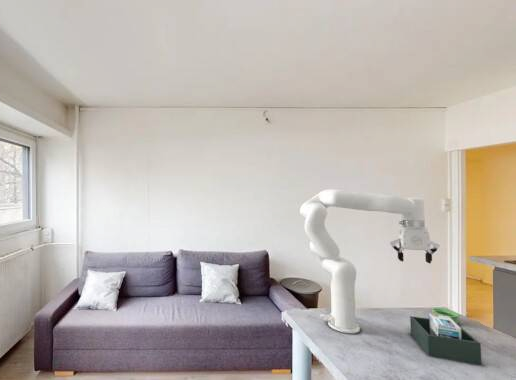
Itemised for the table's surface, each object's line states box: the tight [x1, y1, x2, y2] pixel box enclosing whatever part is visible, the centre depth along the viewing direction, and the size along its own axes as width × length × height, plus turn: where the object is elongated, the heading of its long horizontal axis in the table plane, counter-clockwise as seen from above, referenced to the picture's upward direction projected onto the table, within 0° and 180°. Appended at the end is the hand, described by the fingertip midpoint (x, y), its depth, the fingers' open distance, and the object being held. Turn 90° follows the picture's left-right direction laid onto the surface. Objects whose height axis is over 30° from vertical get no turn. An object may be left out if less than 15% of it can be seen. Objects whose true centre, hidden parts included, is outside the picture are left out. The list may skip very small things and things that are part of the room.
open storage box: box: [409, 315, 482, 366], centre depth 105 cm, size 15×17×8 cm
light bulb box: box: [428, 313, 462, 340], centre depth 104 cm, size 11×7×11 cm, turn 150°
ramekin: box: [431, 307, 460, 324], centre depth 125 cm, size 9×9×4 cm
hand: (414, 261), depth 120 cm, fingers open, 9 cm apart
